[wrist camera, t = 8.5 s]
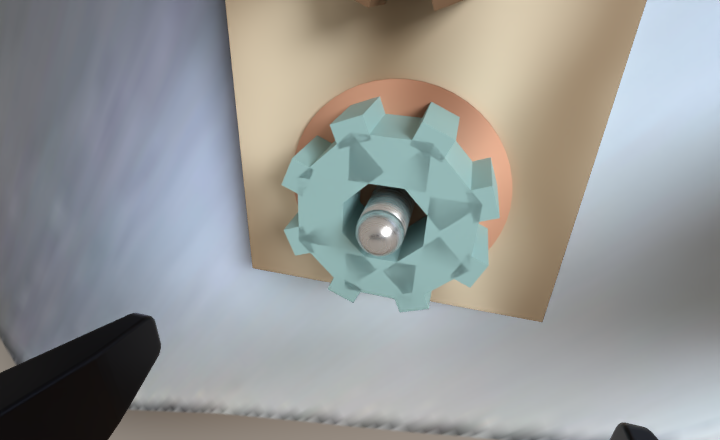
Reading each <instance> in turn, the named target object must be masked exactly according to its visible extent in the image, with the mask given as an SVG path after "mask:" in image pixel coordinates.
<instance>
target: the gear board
mask: <svg viewBox="0 0 720 440" xmlns="http://www.w3.org/2000/svg"><path fill="white" fill-rule="evenodd" d="M646 1H647V0H463V1H460V2H458V3H455V4H453V5H450V6H447V7H445V8H442V9H439V10H437V11H434V8H433V4H432V0H387V2H386V4H384V5H379V6H374V7H369V8H367V7H366V6H364V5H362V4H360V3H358V2H356V1H354V0H225V3H226V13H227V23H228V32H229V42H230V52H231V62H232V71H233V81H234V91H235V101H236V110H237V120H238V130H239V140H240V150H241V159H242V169H243V179H244V189H245V198H246V208H247V218H248V228H249V237H250V247H251V257H252V267H253V268H255V269H260V270H266V271H271V272H276V273H282V274H287V275H293V276H298V277H303V278H309V279H314V280H319V281H325V282H330V283H331V281H332V279H333V278H334V277H333V276H332V275H331V274H330V273H329V272H328V271H327V270H326V269H325V268H324V267H323V266H322V265H321V264H320V263H319V261H318V260H317V259H316V258H315V257H314V256H313V255H312V254H311V253H307V254H301V255H296V256H295V254H294V252H293V249H292V247H291V245H290V243H289V241H288V239H287V236H286V234H285V232H284V229H285V228H286V226H287V225H288V224H289V223H290V221H291V220H292V219H293V218H294V216H295V215H296V214H297V213H298V194H297V193H295V192H294V191H292V190H290V189H288V188H286V187H284V186H283V185H281V184H282V182H283V180H284V177H285V175H286V172H287V170H288V167H289V165H290V162H291V160H292V158H293V157H294V156H295V155H296V154H297V153H298V152H299V151H301V150H302V149H303V148H304V147H305V146H306V145H307V144H308V143H309V142H310V141H311V140H313V139H314V138H315V137H316V136H317V135H318V136H320V137H321V138H323V139H325V140H327V141H329V142H331V143H333V142H334V141H335V138H334V135H333V133H332V130H331V127H330V124H331V123H332V122H333V121H334V120H335V119H336V118H337V117H339V116H340V115H341V114H342V113H343V112H344V111H345V110H346V109H347V108H348V107H349V106H351V105H353V104H356V103H359V102H363V101H366V100H369V99H372V98H375V97H379V96H380V98H381V102H382V105H383V108H384V111H385V114H393V115H402V116H410V117H419V118H422V117H423V115H424V114H425V112H426V110H427V108H428V107H429V105H430V103H431V102H433V103H435V104H437V105H438V106H440V107H442V108H444V109H446V110H448V111H449V112H451V113H453V114H455V115H457V116H458V117H460V119H459V125H458V131H457V137H456V141H457V143H458V144H459V145H460V146H461V148H462V149H463V150H464V151H465V153H466V154H467V155H468V157H469V158H470V159H471V160H472V162H473V161H477V160H481V159H485V158H490V157H491V160H492V165H493V169H494V173H495V178H496V182H497V187H498V201H499V214H500V218H498V219H492V220H487V221H481V222H479V224H480V225H482V226H484V227H486V228H488V259H489V266H488V267H487V268H486V269H485V271H484V272H483V273H482V274H481V275H480V277H479V278H478V279H477V280H476V281H475V283H474V284H473V285H472V286H471V287H468V286H466V285H464V284H462V283H460V282H459V281H457V280H455V279H453V280H451V281H449V282H447V283H446V284H444V285H442V286H440V287H438V288H436V289H434V290H432V292H431V298H430V301H432V302H437V303H442V304H448V305H453V306H458V307H464V308H469V309H474V310H480V311H485V312H490V313H496V314H501V315H507V316H512V317H517V318H523V319H528V320H533V321H539V322H543V319H544V315H545V312H546V309H547V306H548V303H549V300H550V297H551V294H552V291H553V288H554V285H555V282H556V279H557V275H558V272H559V269H560V266H561V263H562V260H563V257H564V254H565V251H566V248H567V245H568V242H569V238H570V235H571V232H572V229H573V226H574V223H575V220H576V217H577V214H578V211H579V208H580V205H581V202H582V198H583V195H584V192H585V189H586V186H587V183H588V180H589V177H590V174H591V171H592V168H593V165H594V161H595V158H596V155H597V152H598V149H599V146H600V143H601V140H602V137H603V134H604V131H605V128H606V124H607V121H608V118H609V115H610V112H611V109H612V106H613V103H614V100H615V97H616V94H617V91H618V88H619V84H620V81H621V78H622V75H623V72H624V69H625V66H626V63H627V60H628V57H629V54H630V51H631V47H632V44H633V41H634V38H635V35H636V32H637V29H638V26H639V23H640V20H641V17H642V14H643V10H644V7H645V4H646ZM376 187H377V185H375V184H367V185H366V186H365V187H363V188H362V189H361V190H360V202H361V203H362V205H363V206H364V207H365V206H366V205H367V203H368V201H369V199H370V197H371V195H372V193H373V191H374V189H375V188H376ZM425 216H426V213H425V212H424V211H423V210H422V209H421V208H420V206H419V205H418V204H417V203H416V202H415V205H414V208H413V212H412V215H411V218H410V221H409V225H408V227H409V226H411V225H412V224H414V223H415V222H417V221H418V220H420V219H421V218H423V217H425Z"/></svg>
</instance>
